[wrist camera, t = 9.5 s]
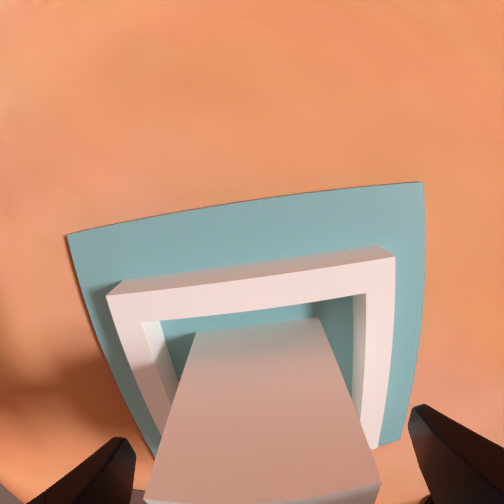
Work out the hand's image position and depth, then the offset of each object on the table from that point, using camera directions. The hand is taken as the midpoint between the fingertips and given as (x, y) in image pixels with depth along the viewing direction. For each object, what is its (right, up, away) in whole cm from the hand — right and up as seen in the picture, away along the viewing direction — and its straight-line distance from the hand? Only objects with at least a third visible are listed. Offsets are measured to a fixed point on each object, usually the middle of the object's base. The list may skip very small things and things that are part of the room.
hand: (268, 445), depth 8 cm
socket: (0, +1, +4) cm, 4 cm away
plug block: (0, +1, +4) cm, 4 cm away
